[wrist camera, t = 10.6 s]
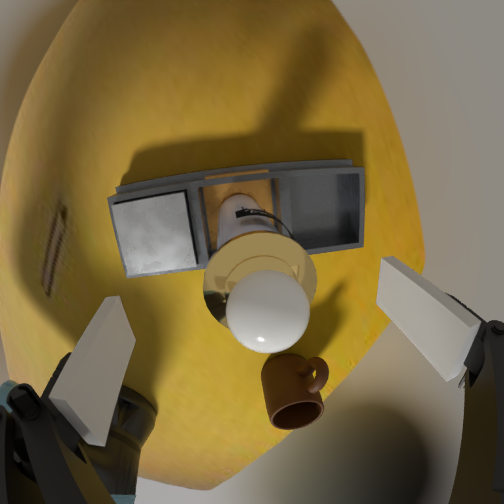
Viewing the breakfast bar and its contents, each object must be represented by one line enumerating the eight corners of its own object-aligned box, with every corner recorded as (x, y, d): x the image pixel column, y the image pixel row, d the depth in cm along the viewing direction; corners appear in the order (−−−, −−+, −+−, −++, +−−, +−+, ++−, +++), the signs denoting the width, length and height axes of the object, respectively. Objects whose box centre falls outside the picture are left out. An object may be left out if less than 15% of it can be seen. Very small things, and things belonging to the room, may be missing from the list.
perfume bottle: (251, 248, 30) (296, 396, 11) (203, 227, 28) (177, 365, 10) (276, 202, 28) (372, 300, 10) (227, 178, 27) (240, 240, 8)
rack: (137, 267, 31) (124, 288, 26) (119, 185, 27) (100, 193, 22) (348, 240, 32) (368, 255, 27) (347, 159, 29) (370, 161, 24)
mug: (285, 324, 36) (303, 372, 27) (330, 334, 37) (354, 378, 29) (252, 381, 39) (260, 428, 31) (294, 387, 41) (307, 431, 32)
